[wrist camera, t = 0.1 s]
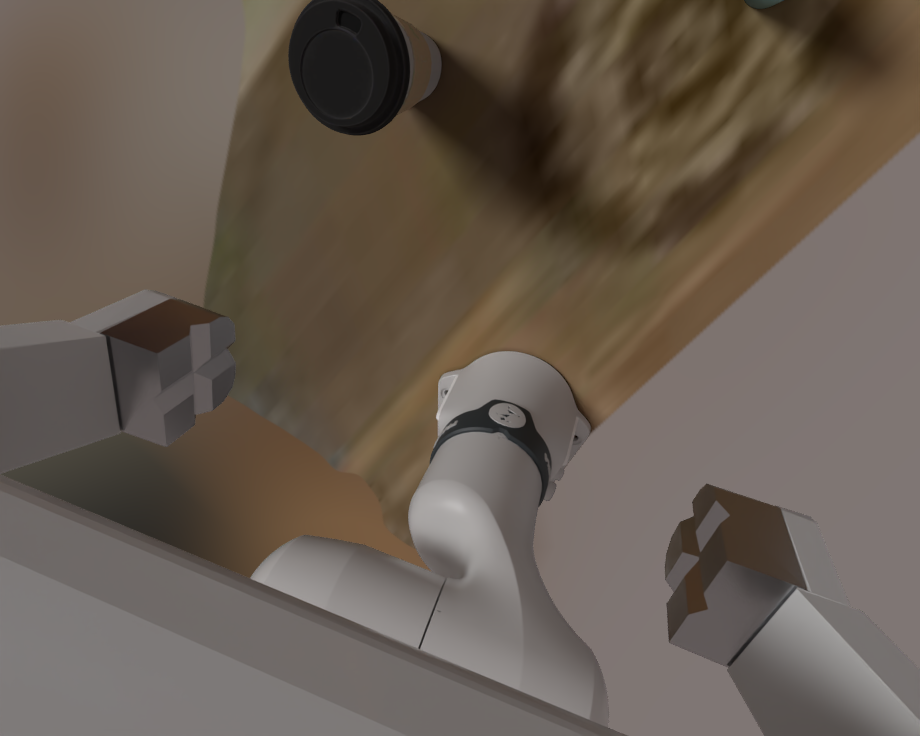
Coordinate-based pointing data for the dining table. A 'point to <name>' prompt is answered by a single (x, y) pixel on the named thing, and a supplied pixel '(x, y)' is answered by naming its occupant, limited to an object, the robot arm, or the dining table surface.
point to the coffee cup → (360, 64)
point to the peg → (762, 3)
